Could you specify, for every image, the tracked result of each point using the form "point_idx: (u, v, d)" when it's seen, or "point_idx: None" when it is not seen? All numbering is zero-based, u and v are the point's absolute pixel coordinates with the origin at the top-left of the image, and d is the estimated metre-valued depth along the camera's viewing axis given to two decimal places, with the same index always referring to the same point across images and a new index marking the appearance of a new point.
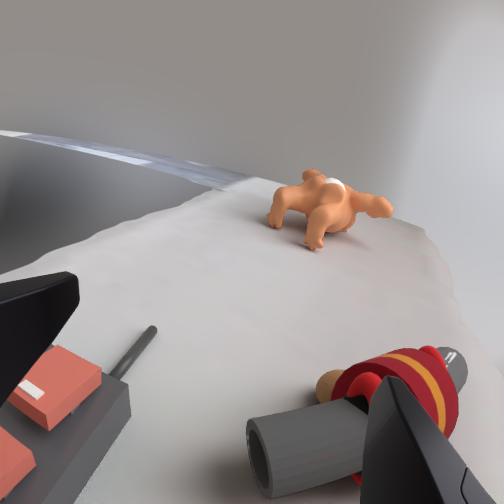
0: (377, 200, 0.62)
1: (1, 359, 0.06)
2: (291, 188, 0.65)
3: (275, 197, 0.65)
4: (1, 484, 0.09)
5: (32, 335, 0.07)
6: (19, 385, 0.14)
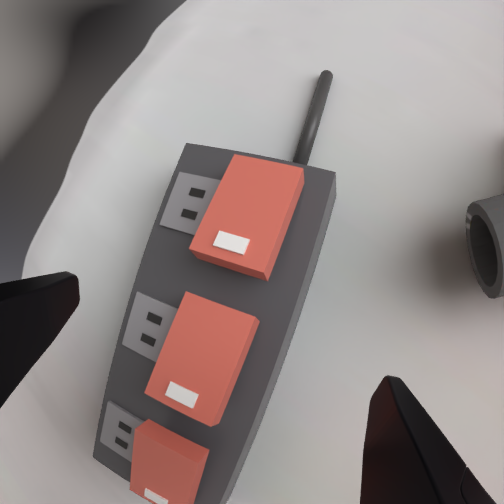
0: None
1: (1, 359, 0.06)
2: None
3: None
4: (234, 374, 0.15)
5: (32, 335, 0.07)
6: (215, 244, 0.16)
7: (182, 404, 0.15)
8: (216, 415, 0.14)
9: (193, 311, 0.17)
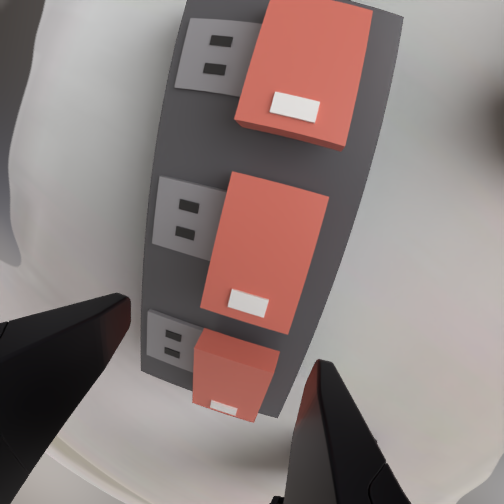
0: None
1: (52, 396, 0.06)
2: None
3: None
4: (308, 268, 0.13)
5: (85, 366, 0.07)
6: (273, 110, 0.11)
7: (251, 313, 0.14)
8: None
9: (247, 196, 0.13)
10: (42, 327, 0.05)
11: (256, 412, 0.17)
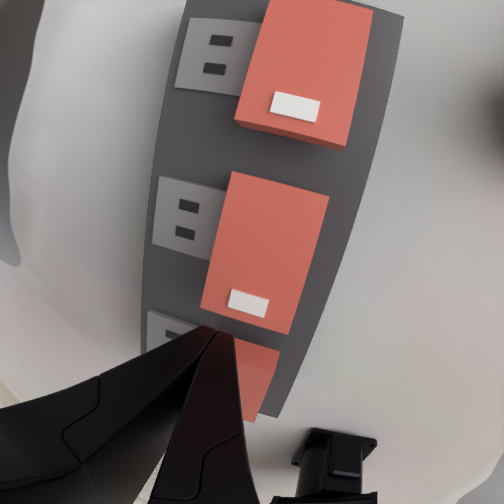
0: None
1: (150, 448, 0.05)
2: None
3: None
4: None
5: (180, 409, 0.06)
6: (273, 110, 0.10)
7: (251, 314, 0.14)
8: None
9: (247, 196, 0.13)
10: (144, 379, 0.05)
11: (256, 412, 0.17)
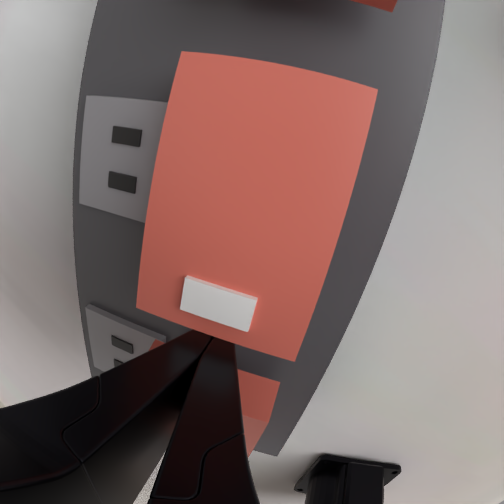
0: None
1: (150, 448, 0.05)
2: None
3: None
4: None
5: (180, 409, 0.06)
6: None
7: (224, 323, 0.07)
8: (303, 336, 0.07)
9: (209, 93, 0.06)
10: (144, 379, 0.05)
11: None
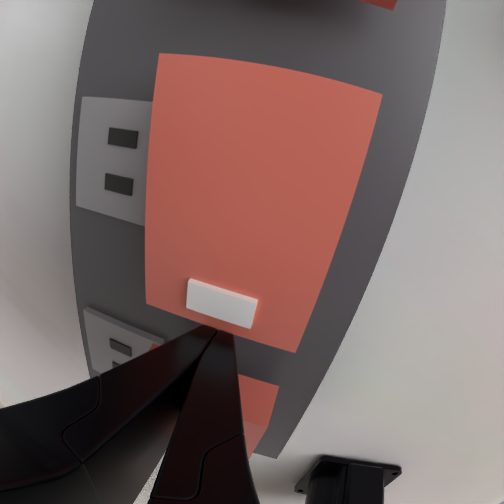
0: None
1: (150, 448, 0.05)
2: None
3: None
4: None
5: (180, 409, 0.06)
6: None
7: (228, 319, 0.08)
8: None
9: (194, 100, 0.05)
10: (145, 379, 0.05)
11: None
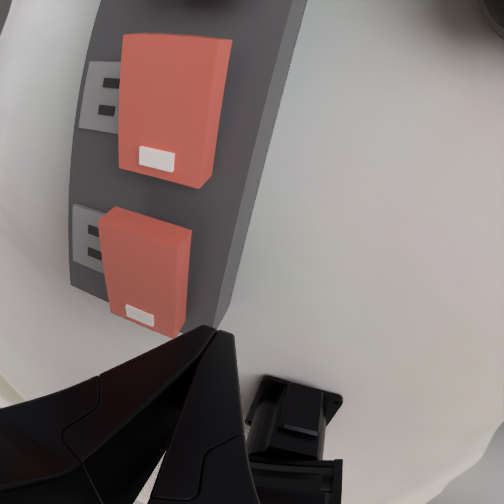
0: None
1: (150, 448, 0.05)
2: None
3: None
4: (211, 117, 0.11)
5: (180, 409, 0.06)
6: None
7: (161, 169, 0.13)
8: (202, 173, 0.13)
9: (139, 55, 0.10)
10: (145, 379, 0.05)
11: (173, 320, 0.15)
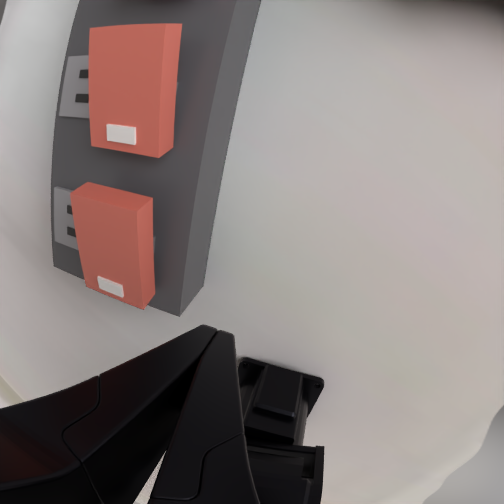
0: None
1: (150, 448, 0.05)
2: None
3: None
4: (164, 92, 0.12)
5: (180, 409, 0.06)
6: None
7: (126, 143, 0.14)
8: (160, 143, 0.13)
9: (102, 44, 0.11)
10: (144, 379, 0.05)
11: (140, 289, 0.16)
